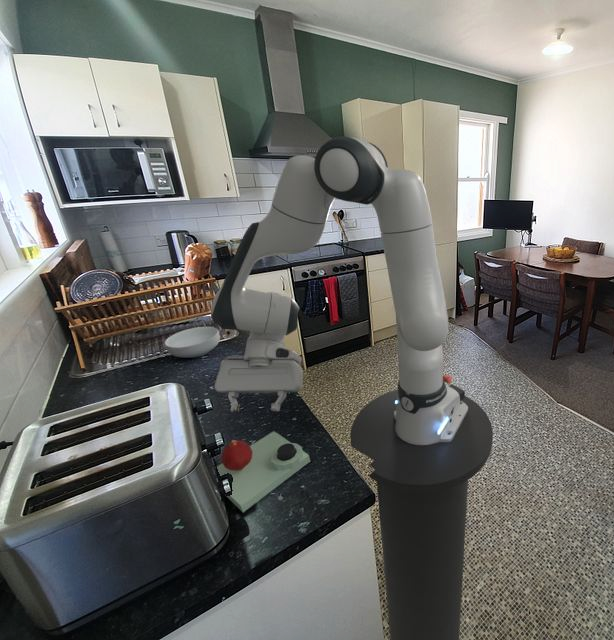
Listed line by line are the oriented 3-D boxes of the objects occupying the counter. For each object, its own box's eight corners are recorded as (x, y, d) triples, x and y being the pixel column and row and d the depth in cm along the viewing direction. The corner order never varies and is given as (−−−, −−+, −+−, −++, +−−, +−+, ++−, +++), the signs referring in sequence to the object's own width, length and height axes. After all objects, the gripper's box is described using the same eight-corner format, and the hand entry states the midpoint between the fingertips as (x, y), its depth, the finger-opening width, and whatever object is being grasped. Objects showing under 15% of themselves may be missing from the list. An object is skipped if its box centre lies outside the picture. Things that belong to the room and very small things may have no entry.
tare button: (289, 446, 80) (288, 441, 79) (298, 453, 78) (297, 447, 77) (275, 456, 77) (273, 450, 77) (284, 463, 75) (283, 457, 75)
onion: (223, 467, 76) (214, 439, 73) (250, 454, 80) (243, 426, 76) (230, 484, 72) (220, 454, 69) (259, 469, 76) (251, 440, 72)
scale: (275, 436, 87) (272, 425, 86) (311, 461, 80) (308, 450, 78) (209, 479, 75) (204, 467, 74) (243, 513, 68) (239, 500, 66)
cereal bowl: (190, 342, 136) (185, 325, 134) (232, 342, 136) (227, 326, 133) (158, 364, 121) (152, 346, 118) (204, 365, 120) (199, 347, 117)
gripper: (215, 352, 84) (203, 410, 79) (299, 351, 84) (292, 409, 79) (229, 359, 90) (218, 413, 85) (307, 358, 90) (301, 412, 85)
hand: (255, 411), depth 82 cm, fingers open, 8 cm apart
